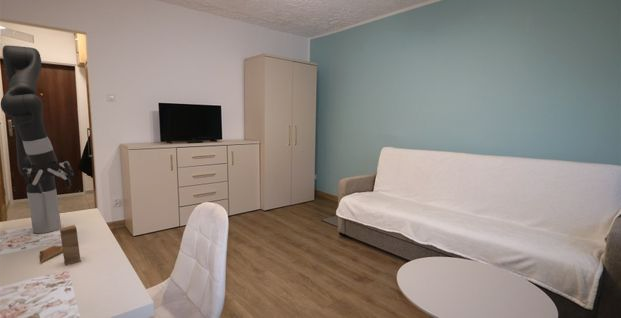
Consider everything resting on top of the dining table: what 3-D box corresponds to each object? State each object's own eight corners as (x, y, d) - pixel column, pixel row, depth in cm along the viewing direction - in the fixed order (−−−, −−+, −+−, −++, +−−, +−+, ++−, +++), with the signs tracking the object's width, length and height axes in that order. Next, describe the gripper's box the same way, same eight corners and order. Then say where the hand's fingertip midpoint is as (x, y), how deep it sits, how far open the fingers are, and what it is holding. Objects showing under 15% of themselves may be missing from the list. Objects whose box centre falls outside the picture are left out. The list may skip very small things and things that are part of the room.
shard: (40, 265, 103) (39, 260, 103) (20, 263, 104) (20, 258, 104) (69, 250, 114) (69, 246, 113) (51, 249, 115) (50, 245, 114)
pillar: (64, 261, 105) (59, 227, 103) (78, 257, 107) (74, 224, 105) (65, 265, 102) (61, 231, 100) (80, 261, 105) (76, 228, 103)
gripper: (66, 144, 118) (79, 182, 124) (19, 150, 113) (35, 190, 119) (60, 149, 112) (74, 189, 118) (10, 157, 106) (28, 198, 112)
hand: (55, 190), depth 118 cm, fingers open, 8 cm apart
